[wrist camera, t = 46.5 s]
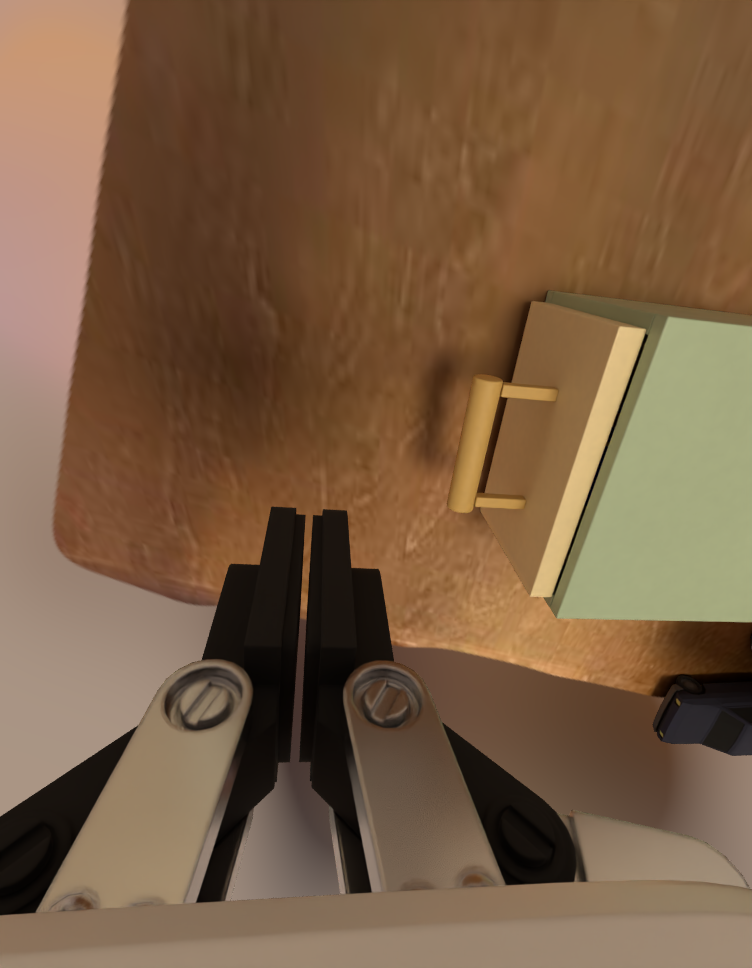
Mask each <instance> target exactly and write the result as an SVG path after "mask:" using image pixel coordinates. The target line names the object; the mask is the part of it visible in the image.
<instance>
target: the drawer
mask: <svg viewBox="0 0 752 968" xmlns="http://www.w3.org/2000/svg"><path fill="white" fill-rule="evenodd" d="M645 333H646V329H644V328H641V327H637V326H633V325H630V324H626V323H622V322H619V321H615V320H611V319H608V318H604V317H600V316H596V315H593V314H589V313H585V312H582V311H578V310H574V309H571V308H567V307H563V306H560V305H556V304H552V303H545V302H537V301H532V302H531V306H530V310H529V314H528V318H527V322H526V326H525V330H524V334H523V338H522V342H521V346H520V350H519V354H518V359H517V363H516V367H515V371H514V375H513V379H512V383H507V382H503V380H502V379H500V378H498V377H495V376H491V375H485V374H477V375H474V376H473V380H472V384H471V389H470V394H469V399H468V404H467V408H466V413H465V418H464V423H463V428H462V432H461V437H460V442H459V447H458V452H457V457H456V461H455V466H454V471H453V476H452V481H451V485H450V490H449V495H448V500H447V506H448V508H449V509H451V510H453V511H455V512H459V513H469V512H471V511H472V510H473V506H475V507H481V509H480V511H481V513H482V515H483V516H484V518H485V520H486V522H487V523H488V525H489V527H490V528H491V530H492V532H493V534H494V535H495V537H496V539H497V541H498V542H499V544H500V546H501V547H502V549H503V551H504V553H505V554H506V556H507V558H508V559H509V561H510V563H511V565H512V566H513V568H514V570H515V572H516V573H517V575H518V577H519V578H520V580H521V582H522V584H523V585H524V587H525V589H526V590H527V592H528V594H529V596H530V597H552V594H553V591H554V589H555V586H556V583H557V580H558V577H559V575H560V572H561V569H562V566H563V565H564V566H566V563H567V560H568V557H569V555H570V552H571V549H572V546H573V543H574V541H575V538H576V535H577V532H578V529H579V527H580V524H581V521H582V518H583V516H584V513H585V510H586V507H587V506H585V502H586V499H587V496H588V493H589V490H590V488H591V485H592V482H593V479H594V476H595V474H596V471H597V468H598V465H599V462H600V460H601V457H602V454H603V451H604V448H605V446H609V443H610V442H607V440H608V437H609V434H610V432H611V429H612V427H614V422H615V418H616V415H617V412H618V411H619V409H620V407H621V406H622V404H623V403H624V401H625V399H626V396H627V393H628V391H629V388H630V385H631V382H632V379H633V377H634V374H635V371H636V368H637V366H638V363H639V360H640V357H641V354H642V352H643V349H644V346H645V343H646V341H647V338H648V335H647V334H645ZM500 396H501V397H506V398H508V399H507V403H506V407H505V411H504V415H503V420H502V424H501V428H500V432H499V436H498V440H497V444H496V448H495V452H494V456H493V460H492V464H491V468H490V472H489V477H488V481H487V485H486V489H485V493H477V489H478V485H479V481H480V477H481V472H482V468H483V464H484V460H485V456H486V451H487V447H488V443H489V439H490V434H491V430H492V426H493V422H494V418H495V413H496V409H497V405H498V401H499V397H500Z"/></svg>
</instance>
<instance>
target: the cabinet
mask: <svg viewBox="0 0 752 968" xmlns="http://www.w3.org/2000/svg"><path fill="white" fill-rule="evenodd" d="M545 303H552V304H556V305H560V306H563V307H567V308H571V309H574V310H578V311H582V312H585V313H589V314H593V315H596V316H600V317H604V318H608V319H611V320H615V321H619V322H622V323H626V324H630V325H633V326H637V327H641V328H644V329H646V333H645V334H647V335H648V338H647V341H646V343H645V346H644V349H643V352H642V354H641V357H640V360H639V363H638V366H637V368H636V371H635V374H634V377H633V379H632V382H631V385H630V388H629V391H628V393H627V396H626V399H625V402H624V404H623V407H622V410H621V413H620V416H619V418H618V421H617V424H616V427H615V429H614V432H613V435H612V438H611V441H610V443H609V446H608V449H607V452H606V454H605V457H604V460H603V463H602V466H601V468H600V471H599V474H598V477H597V479H596V482H595V485H594V488H593V491H592V493H591V496H590V499H589V502H588V504H587V507H586V510H585V513H584V516H583V518H582V521H581V524H580V527H579V529H578V532H577V535H576V538H575V541H574V543H573V546H572V549H571V552H570V555H569V557H568V560H567V563H566V566H564V565H563V566H562V569H561V572H560V575H559V577H558V580H557V583H556V586H555V589H554V591H553V594H552V597H543V598H544V599H545V601H546V603H547V604H548V606H549V607H550V608H551V610H552V612H553V614H554V615H555V617H556V618H562V619H612V620H662V621H711V622H752V315H746V314H738V313H729V312H721V311H713V310H705V309H697V308H689V307H681V306H672V305H664V304H656V303H648V302H640V301H632V300H624V299H616V298H607V297H599V296H591V295H583V294H575V293H567V292H559V291H551V290H549V291H548V293H547V297H546V301H545Z"/></svg>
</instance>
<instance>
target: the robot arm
mask: <svg viewBox="0 0 752 968" xmlns="http://www.w3.org/2000/svg"><path fill="white" fill-rule="evenodd" d="M304 532H305V515H298V514H296V508H286V507H271V511H270V516H269V521H268V526H267V531H266V536H265V541H264V546H263V551H262V556H261V561H260V565H248V564H231V565H230V566H229V568H228V571H227V574H226V578H225V581H224V585H223V588H222V592H221V595H220V599H219V602H218V605H217V609H216V612H215V616H214V619H213V623H212V626H211V630H210V633H209V637H208V640H207V644H206V647H205V650H204V654H203V657H202V660H201V661H197V662H192V663H190V664H188V665H186V666H184V667H182V668H180V669H178V670H177V671H175V672H174V673H173V674H172V675H170V676H169V677H168V678H167V679H166V680H165V681H164V683H163V684H162V685H161V687H160V688H159V689H158V691H157V693H156V695H155V696H154V698H153V700H152V702H151V703H150V705H149V707H148V709H147V711H146V712H145V715H144V716H143V718H142V720H141V722H140V724H139V725H138V726H137V727H135V728H133V729H132V730H130V731H129V732H127V733H126V734H124V735H123V736H121V737H120V738H118V739H117V740H115V741H114V742H112V743H111V744H109V745H108V746H106V747H105V748H103V749H102V750H100V751H99V752H97V753H96V754H95V755H93V756H92V757H90V758H88V759H87V760H85V761H84V762H82V763H81V764H79V765H78V766H76V767H74V768H73V769H71V770H70V771H68V772H67V773H65V774H64V775H63V776H61V777H59V778H58V779H56V780H55V781H54V782H52V783H50V784H49V785H47V786H46V787H44V788H43V789H41V790H40V791H38V792H37V793H35V794H34V795H32V796H31V797H29V798H28V799H26V800H25V801H23V802H22V803H20V804H19V805H17V806H16V807H14V808H13V809H11V810H10V811H8V812H7V813H5V814H3V815H2V816H1V817H0V968H752V889H750V887H749V885H748V884H747V882H746V881H745V879H744V877H743V875H742V874H741V873H740V872H739V870H738V869H737V868H736V867H735V866H734V865H733V864H732V863H731V862H730V861H729V860H728V859H727V857H726V856H724V855H723V854H722V853H720V852H719V851H718V850H716V849H715V848H713V847H712V846H710V845H709V844H708V843H706V842H703V841H701V840H699V839H696V838H693V837H691V836H687V835H683V834H678V833H674V832H670V831H665V830H661V829H656V828H652V827H647V826H643V825H638V824H633V823H629V822H625V821H620V820H616V819H611V818H607V817H602V816H598V815H593V814H589V813H585V812H580V811H576V810H572V811H571V813H570V815H569V816H567V815H563V814H558V813H557V812H555V811H554V810H553V809H552V808H551V807H550V806H549V805H548V804H547V803H546V802H545V801H544V800H543V799H542V798H540V797H539V796H538V795H536V794H535V793H534V792H532V791H531V790H530V789H529V788H527V787H526V786H524V785H523V784H522V783H520V782H519V781H518V780H517V779H515V778H514V777H513V776H512V775H510V774H509V773H508V772H506V771H505V770H504V769H502V768H501V767H500V766H498V765H497V764H496V763H495V762H493V761H492V760H491V759H489V758H488V757H487V756H485V755H484V754H483V753H481V752H480V751H479V750H478V749H476V748H475V747H474V746H472V745H471V744H470V743H468V742H467V741H466V740H464V739H463V738H462V737H460V736H459V735H458V734H457V733H455V732H454V731H453V730H451V729H450V728H449V727H447V726H446V725H445V724H444V723H442V722H441V719H440V717H439V714H438V711H437V709H436V706H435V704H434V701H433V699H432V696H431V694H430V691H429V689H428V687H427V686H426V684H425V682H424V680H423V679H422V678H421V677H420V676H419V675H418V674H417V673H416V672H415V671H414V670H412V669H410V668H408V667H406V666H405V665H403V664H400V663H396V662H394V658H393V652H392V645H391V639H390V632H389V626H388V619H387V613H386V607H385V600H384V594H383V587H382V581H381V575H380V571H379V569H363V568H351V558H350V544H349V530H348V516H347V511H345V510H325V509H323V514H322V516H318V515H313V525H312V541H311V557H310V573H309V589H308V605H307V624H306V641H305V642H306V644H305V662H304V682H303V700H302V719H301V741H300V760H299V762H311V765H310V766H311V767H310V781H312V788H313V789H314V790H315V791H316V792H317V793H318V794H319V795H320V796H321V797H322V798H323V799H324V800H325V801H326V802H327V803H328V804H329V819H330V825H331V832H332V840H333V846H334V853H335V860H336V867H337V874H338V881H339V888H340V895H323V896H306V897H288V898H271V899H256V900H238V901H231V897H232V893H233V890H234V887H235V882H236V879H237V875H238V871H239V868H240V864H241V860H242V856H243V853H244V849H245V845H246V841H247V838H248V833H249V830H250V826H251V822H252V818H253V809H254V807H255V806H256V805H257V804H258V803H259V802H260V801H261V800H262V799H263V798H264V797H265V796H266V795H267V794H268V793H270V791H272V790H273V789H274V784H275V782H277V772H278V763H279V762H290V752H291V737H292V722H293V709H294V694H295V679H296V664H297V651H298V636H299V635H298V634H299V622H300V621H299V620H300V606H301V587H302V569H303V550H304Z"/></svg>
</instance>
